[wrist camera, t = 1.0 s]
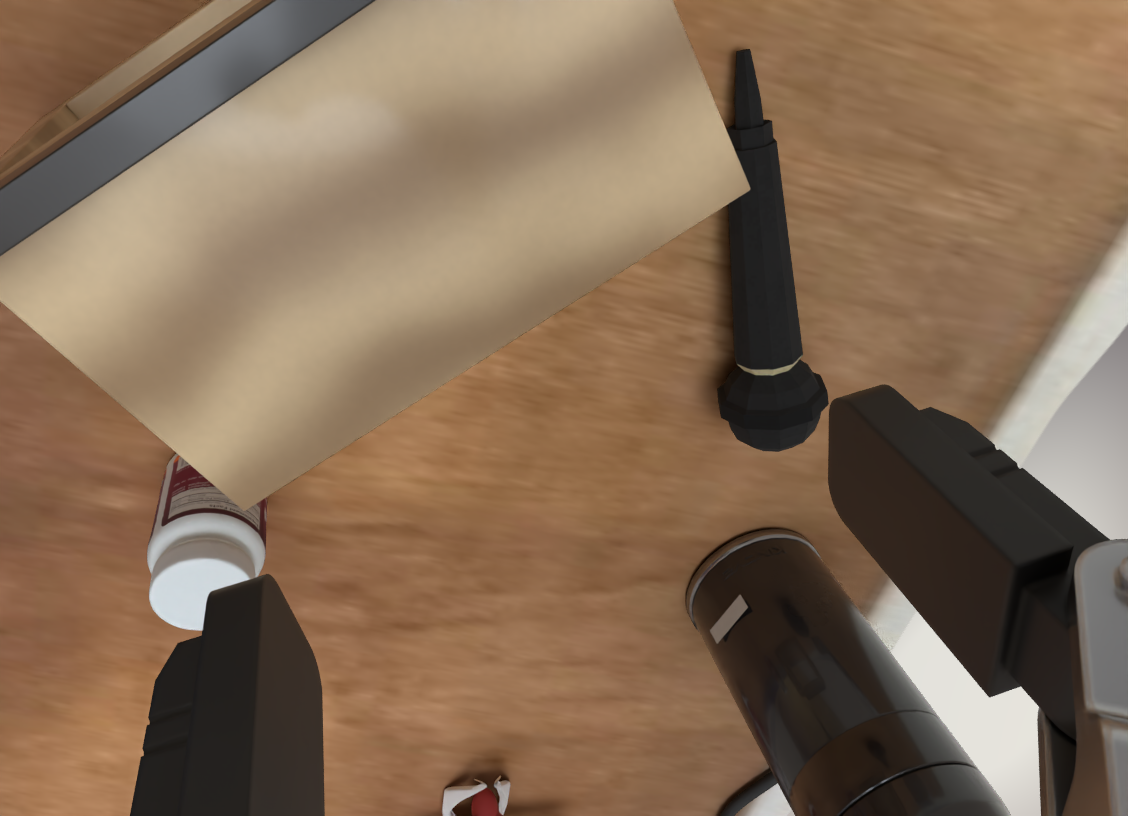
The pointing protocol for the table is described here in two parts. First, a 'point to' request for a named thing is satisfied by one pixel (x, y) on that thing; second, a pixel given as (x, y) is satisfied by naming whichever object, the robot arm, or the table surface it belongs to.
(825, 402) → the microphone
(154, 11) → the table surface
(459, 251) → the shelf
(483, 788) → the figurine
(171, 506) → the pill bottle
